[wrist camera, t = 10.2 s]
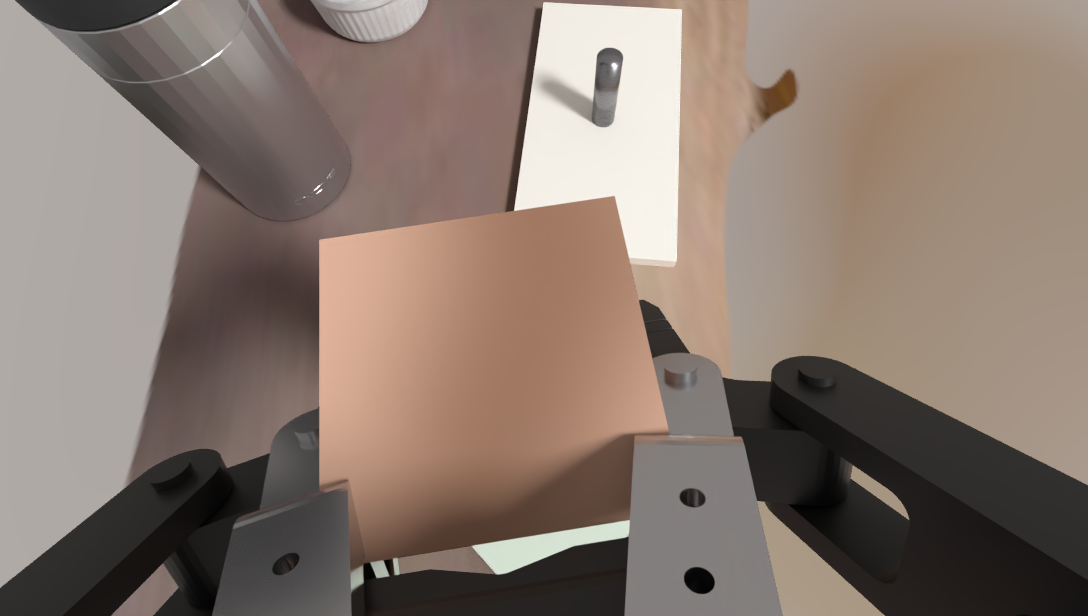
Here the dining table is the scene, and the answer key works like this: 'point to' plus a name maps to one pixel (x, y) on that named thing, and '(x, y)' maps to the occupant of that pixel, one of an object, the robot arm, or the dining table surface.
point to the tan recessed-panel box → (483, 377)
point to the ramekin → (371, 17)
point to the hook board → (625, 143)
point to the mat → (545, 545)
